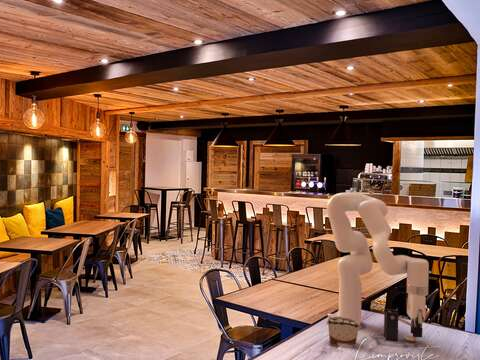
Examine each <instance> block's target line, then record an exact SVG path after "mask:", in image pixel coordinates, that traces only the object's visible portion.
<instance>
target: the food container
mask: <svg viewBox="0 0 480 360" xmlns="http://www.w3.org/2000/svg"><path fill="white" fill-rule="evenodd" d="M326 325H327V326H328V337H329V338H328V339H329V346H335V347H339V344H338V343H340V344H346V345H347V344H349V345H357V341H358V335H359V333H358V332H359V329H361V326H360V325H361V324H360V325H359V323H358V322H357V321H355V320H353V319H349V318H344V317H332V318H328V319H327V321H326Z"/></svg>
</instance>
